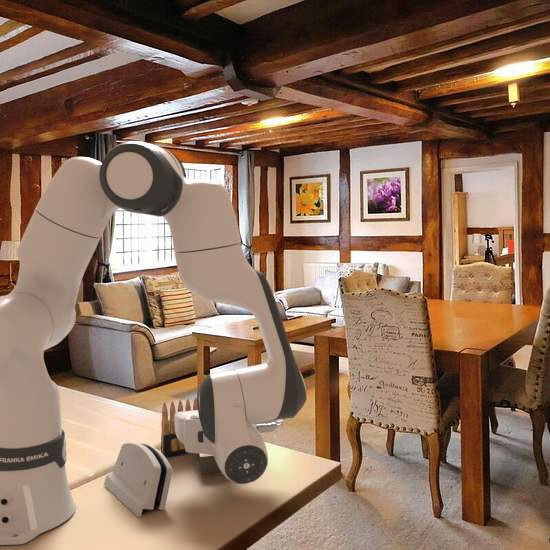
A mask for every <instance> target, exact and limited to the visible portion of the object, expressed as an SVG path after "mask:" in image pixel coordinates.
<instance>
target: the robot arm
mask: <svg viewBox="0 0 550 550" xmlns="http://www.w3.org/2000/svg"><path fill="white" fill-rule="evenodd" d="M230 197H231V196H230V194H229V192H228V190H227V188H226V187H225V186H224V185H223V184H222V183H220V182H218V181H215V180H212V179H208V178H198V179H196V178H195V179H190V178H187V174H186V170H185V167H184V165H183V163H182V161H181V160H180V159H179V158H178V157H177V156H176V155H175V154H174V153H172V152H171V151H169V150H168V149H166V148H165V147H163V146H161V145H158V144H156V143H153V142H152V143H149V142H146V141H145V142H144V141H140V140H129V141H125V142H122V143H119V144H118V145H116V146H113V148H112V149H110V150H109V151H108V152H107V153H106V155H105V156H104V157H103V159H102V161H99V160H96V159H94V158H91V157H86V156H73V157H70V158H68V159H66V161H64V162H63V163H62V164H61V166H59V168H58V169H57V170H56V172H55V174H54V175H53V177H52V178H51V180H50V181H49V182H48V184H47V186H46V188H45V189H44V191H43V193H42V194H41V197H40V198H39V201H38V203H37V205H36V206H35V209H34V211H33V213H32V215H31V218H30V220H29V222H28V224H27V227H25V231H24V233H23V236H22V237H21V239H20V242H19V244H18V247H17V249H16V256H17V259H18V261H19V270H18V276H17V281H16V283H15V286H14V288H13V289H12V290H11V291H10V293H8V294H6V295H2V296H0V546H6V545H7V546H9V545H13V546H15V545H23V544H27V543H28V542H30V541H32V540H33V539H35V538H37V537H38V536H39V535H41V534H43V533H45V532H47V531H50V530H52V529H54V528H56V527H58V526H61V524H64V523H65V522H66V521H67V520H69V519H70V518H71V517H72V516H73V515H74V513H75V511H76V509H77V508H76V507H77V505H76V502H75V500H74V498H73V495H72V492H71V488H70V484H69V480H68V474H67V471H66V463H67V458H68V457H67V441H66V440H67V439H66V437H65V436H66V435H65V431H64V429H63V426H62V408H61V407H62V406H61V391H60V387H59V386H58V385H57V383H55V381H54V380H52V379H51V376H50V375H49V373H48V369H47V366H46V363H45V359H44V358H45V357H44V354H45V351H46V350H48V349H50V348H52V347H54V346H56V345H58V344H59V343H61V342H62V341H63V340H64V339H65V338H66V337H67V336H68V334H69V333H70V332H71V331H72V330H73V327H74V326H75V323H76V317H77V313H76V309H75V307H76V303H77V299H78V294H79V292H80V287H81V283H82V280H83V277H84V274H85V272H86V270H87V268H88V266H89V263H90V261H91V260H92V257H93V255H94V253H95V251H96V248H97V247H98V244H99V242H100V240H101V238H102V236H103V234H104V231H105V229H106V227H107V225H108V223H109V222H110V219H111V218H112V216H113V215H114V214H115V213H116V211H118V210H119V209H122V210H124V211H126V212H130V213H134V214H143V215H149V216H154V217H159V218H160V217H163V219H165V220H166V223H167V224H168V226H169V229H170V234H171V237H172V238H171V239H172V245H173V250H174V258H175V262H176V268H177V270H178V275H179V278H180V281H181V282H182V284H183V286H184V287H185V288H186V289H187V290H188V291H189V292H190V293H192V294H193V295H195V296H197V297H198V298H201V299H203V300H206V301H209V302H213V303H219V304H223V305H228V306H234V307H238V308H240V309H244V310H246V311H248V312H249V313H251V315H253V317H254V318H255V321H256V323H257V326H258V329H259V332H260V337H261V339H262V341H263V344H264V348H265V351H266V353H267V360H266V361H265V362H263V363H261V364H255V365H250V366H245V367H240V368H233V369H227V370H222V371H217V372H214V373H208V374H207V375H206V376H205V377H204V379H203V380H202V382H201V384H200V386H199V387H198V390H197V394H196V398H197V406H198V410H194V411H193V410H191V411H184V410H183V412H178V411H177V412H176V413H175V414H174V427H175V433H176V436H177V438H178V440H179V441H180V442H181V443H182V444H184V446H185V451H186V452H188V453H189V454H196V453H201V454H210V455H214V458H215V460H216V463H217V465H218V467H219V469H220V470H221V472H222V473H223V474H222V475H223V476H224V477H225V478H226V479H227V480H228V481H230V482H232V483H235V484H238V485H246V484H250V483H253V482H255V481H257V480H259V479H260V478H261V477H262V476H263V474H264V473H265V472H266V471H267V467H268V465H269V454H268V449H267V446H266V443H265V440H264V437H263V436H262V434H266V433H272V432H274V431H276V430H277V429H278V428H279V427H283V425H284V420H285V419H287V420H288V419H293V418H295V416H297V414H299V412H300V411H301V410H302V409H303V407H304V405H305V404H306V401H307V387H306V383H305V379H304V377H303V374H302V372H301V371H300V369H299V366H298V364H297V361H296V358H295V355H294V353H293V350H292V347H291V343H290V340H289V338H288V334H287V330H286V328H285V325H284V322H283V319H282V315H281V313H280V310H279V307H278V304H277V300H276V298H275V296H274V293H273V290H272V287H271V286H270V283H269V281H268V279H267V278H266V276H265V275H264V273H263V272H262V271H259V270H257V269H254V268H253V266H251V264H250V263H249V261H248V260H247V258H246V256H245V254H244V250H243V246H242V240H241V234H240V228H239V225H238V224H239V223H238V220H237V215H236V213H235V209H234V206H233V203H232V200H231V198H230Z"/></svg>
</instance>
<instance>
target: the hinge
mask: <svg viewBox="0 0 550 550" xmlns="http://www.w3.org/2000/svg"><path fill="white" fill-rule="evenodd" d="M113 467H114V468H113V470H112V471H111V472H109V473H108V474H107V475H106V476H105V480H104V483H103V486H105V487H106V488H107V489H108V490H109V491H110V492H111V493H112V494H113V495H114V496H115V497H116V498H117V499H118V500H119V501H120V502H121V503H123V504H124V505H125V506H126V508H127V509H129V510H130V511H131V512H132V513H133V514H134V515H135V516H136V517H137V518H141V517H142V515H143V510H151V511H152V510H154V509H155V508H157V510H159V511H161V510H165V509H166V505H167V501H168V500H167V499H168V495H169V490H170V486H171V481H172V475H173V467H172V466H171V464H170V462H169V460H168V458H166V457H165V456H164V455H163V454H162V453H161V450H160V449H157V448H156V447H154V446H152V445H149V444H146V443H139V442H128V443H123V444H121V447H120V450H119V453H118V455H117V459H116V461H115V464H114V466H113Z"/></svg>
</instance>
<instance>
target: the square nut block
mask: <svg viewBox="0 0 550 550" xmlns="http://www.w3.org/2000/svg"><path fill="white" fill-rule="evenodd" d="M195 458H196V462H197V466H198V471H199V475H200V477H207V476H216V475H217V474H218V475H223V473H222V472H221V470H220V469H219V467H218V465H217V463H216V460H215V458H214V455H210V454H201V453H195Z"/></svg>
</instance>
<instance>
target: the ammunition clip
mask: <svg viewBox="0 0 550 550" xmlns="http://www.w3.org/2000/svg"><path fill="white" fill-rule="evenodd" d="M182 402H183V401H182V400H181V399H179V401H178V404H177V412H184V406H183V403H182ZM191 408H192V410H191ZM194 410H198V406H197V396H195V397H194V399H193V404H192V407H191V403H190V400H189V398H187V399H186V401H185V411H194ZM168 412H169V413H168ZM177 412H176V406H175V402H174V400H172V401H171V403H170V407H169V411H168V406H167V404H166V402H163V404H162V409H161V421H160V422H161V425H160V426H161V427H160V428H161V434H160V436H161V437H160V440H161V441H160V452H161V453H162V454H163V455H164V456H165V457H166V459H168V458H169V459H170V458H174V457H179V456H185V455H189V454H190V453H188V452H186V451H185V446H184V444H182V443H181V442H180V441H179V440H178V438H177V436H176V433H175V427H174V414H175V413H177Z"/></svg>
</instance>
